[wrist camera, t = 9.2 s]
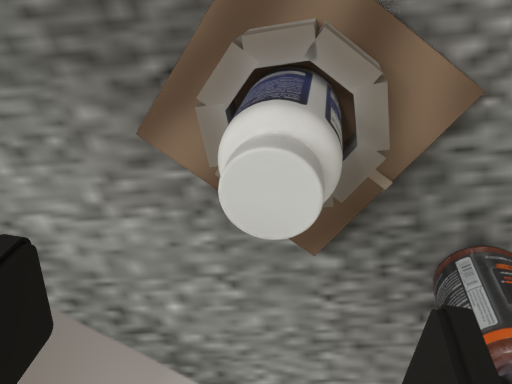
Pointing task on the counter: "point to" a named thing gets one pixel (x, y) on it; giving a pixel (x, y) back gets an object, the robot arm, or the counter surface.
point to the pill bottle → (281, 154)
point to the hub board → (333, 71)
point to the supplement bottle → (482, 296)
